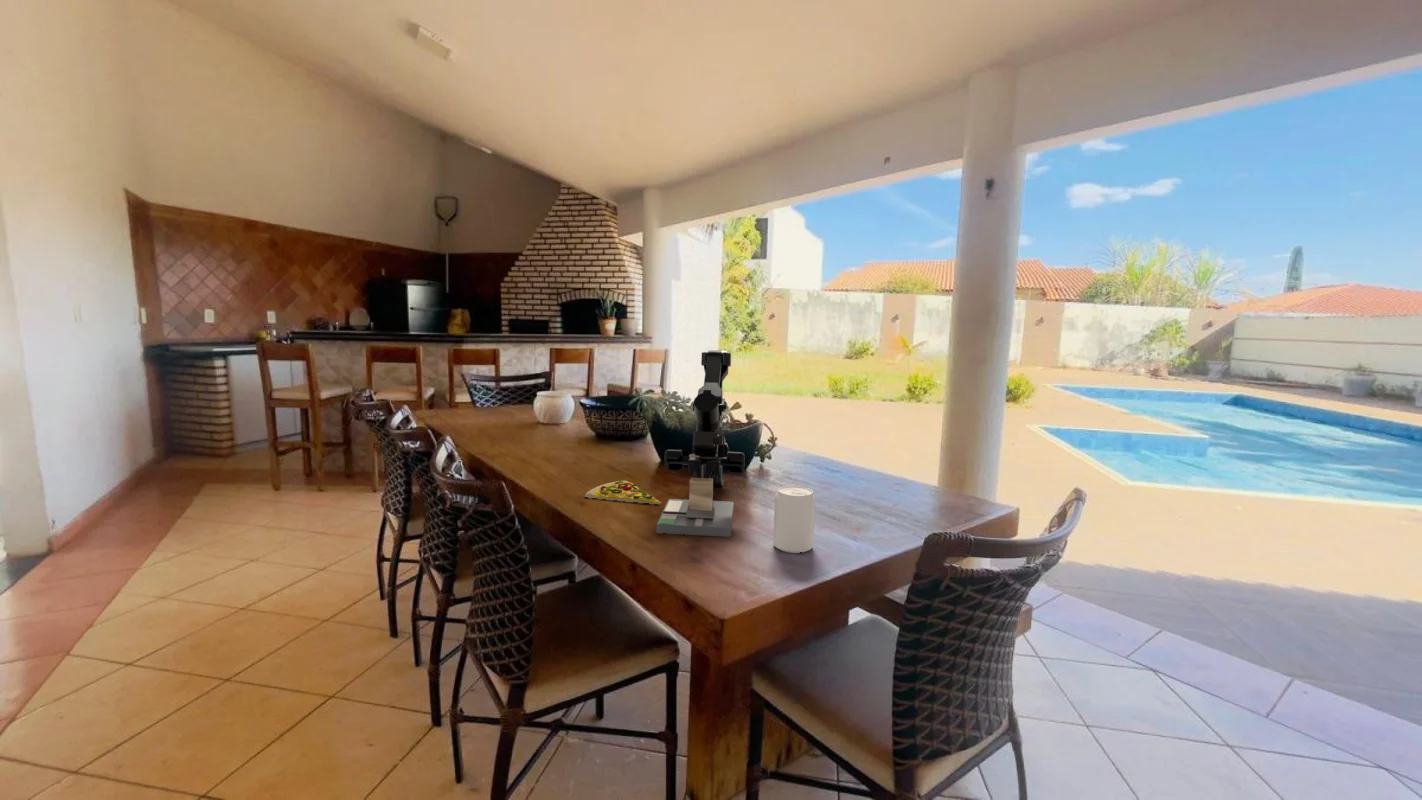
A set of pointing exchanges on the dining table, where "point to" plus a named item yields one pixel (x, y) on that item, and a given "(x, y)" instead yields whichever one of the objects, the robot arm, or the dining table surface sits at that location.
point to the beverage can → (794, 519)
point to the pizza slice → (621, 493)
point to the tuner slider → (699, 499)
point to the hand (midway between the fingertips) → (701, 493)
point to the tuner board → (696, 520)
